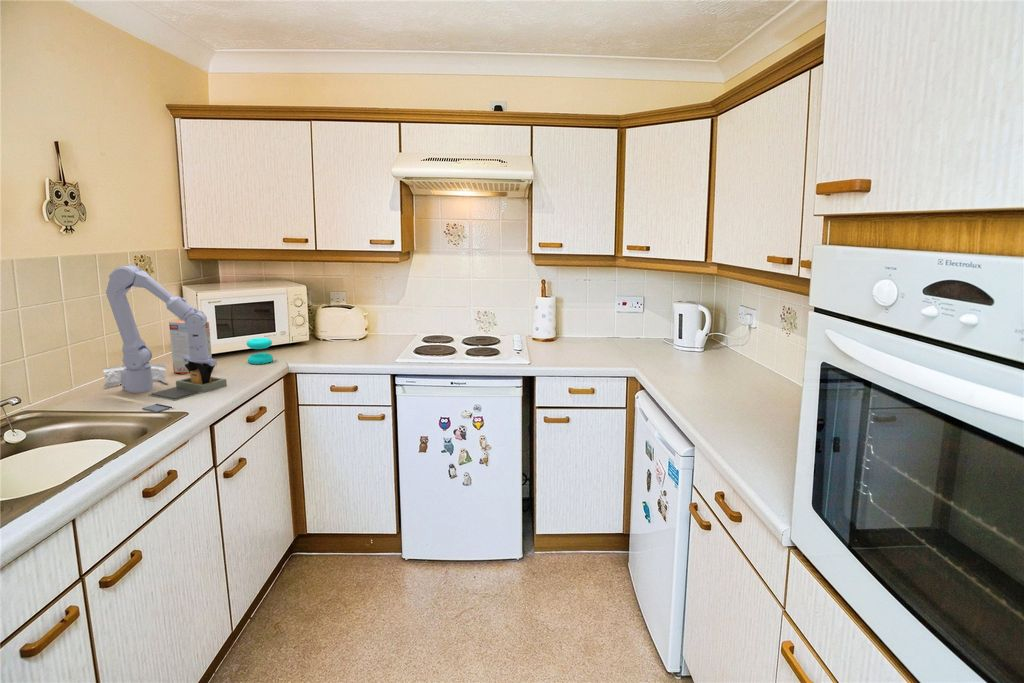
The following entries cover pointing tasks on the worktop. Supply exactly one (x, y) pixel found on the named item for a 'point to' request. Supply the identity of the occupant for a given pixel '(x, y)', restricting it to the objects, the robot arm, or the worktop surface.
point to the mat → (156, 407)
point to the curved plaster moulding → (115, 372)
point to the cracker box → (183, 345)
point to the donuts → (259, 344)
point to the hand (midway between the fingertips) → (201, 383)
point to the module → (197, 377)
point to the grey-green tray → (189, 389)
